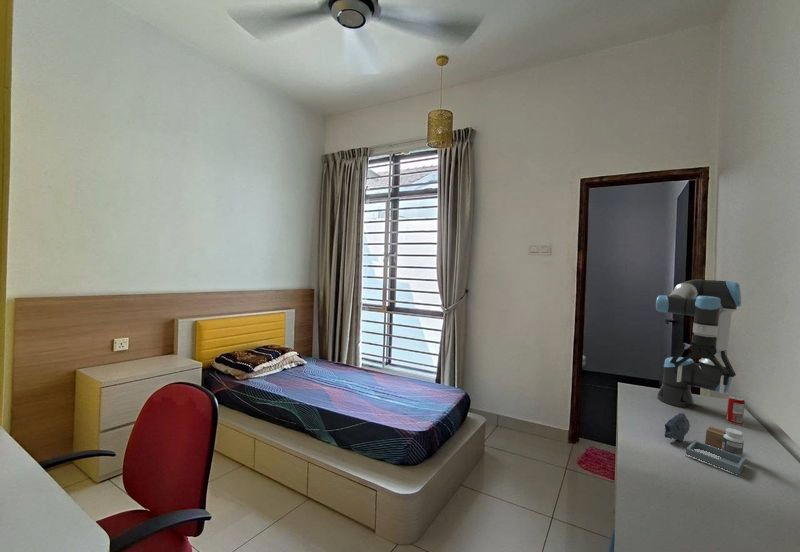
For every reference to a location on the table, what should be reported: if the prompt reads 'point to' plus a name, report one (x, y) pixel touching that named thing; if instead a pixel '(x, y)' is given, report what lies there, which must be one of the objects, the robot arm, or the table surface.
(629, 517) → the table surface
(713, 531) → the table surface
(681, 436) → the stone
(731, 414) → the soda can
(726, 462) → the tray
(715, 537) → the table surface
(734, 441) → the pill bottle
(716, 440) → the brown cube
